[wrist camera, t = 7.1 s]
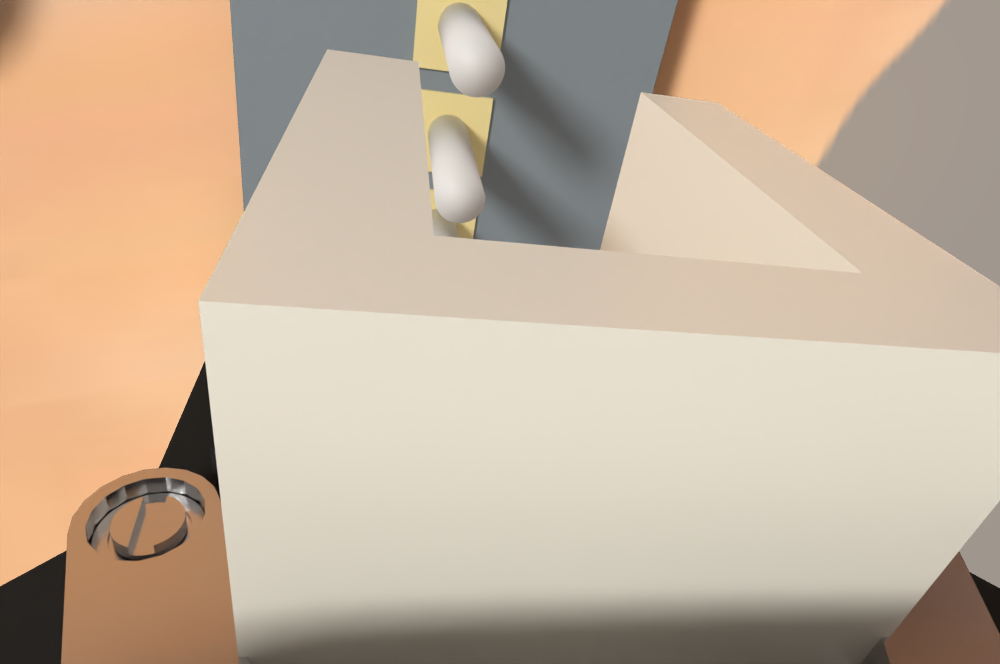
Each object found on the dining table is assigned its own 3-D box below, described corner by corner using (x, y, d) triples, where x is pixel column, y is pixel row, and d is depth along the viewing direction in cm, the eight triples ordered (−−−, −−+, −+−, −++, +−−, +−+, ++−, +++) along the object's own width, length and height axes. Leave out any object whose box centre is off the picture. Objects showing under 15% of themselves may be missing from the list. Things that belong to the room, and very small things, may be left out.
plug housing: (328, 49, 9) (197, 299, 3) (717, 102, 10) (1112, 359, 4) (322, 514, 13) (268, 927, 8) (583, 516, 14) (689, 884, 9)
